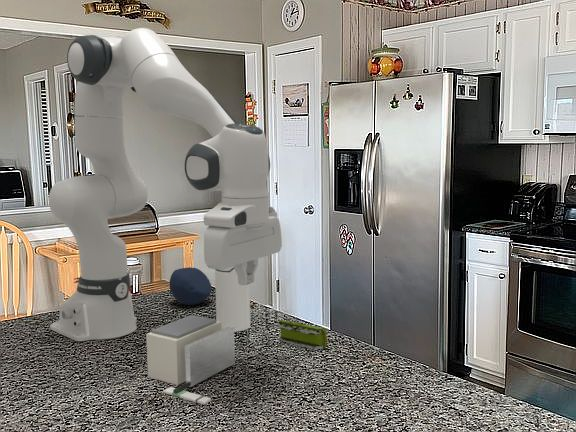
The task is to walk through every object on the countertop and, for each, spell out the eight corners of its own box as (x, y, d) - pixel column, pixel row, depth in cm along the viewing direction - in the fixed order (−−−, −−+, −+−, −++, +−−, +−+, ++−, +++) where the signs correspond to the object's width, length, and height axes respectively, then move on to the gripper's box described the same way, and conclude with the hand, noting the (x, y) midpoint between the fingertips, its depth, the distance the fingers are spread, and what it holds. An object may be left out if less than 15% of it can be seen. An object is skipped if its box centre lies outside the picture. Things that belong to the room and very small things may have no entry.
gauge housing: (133, 383, 121) (131, 336, 120) (193, 355, 136) (192, 313, 135) (204, 404, 112) (202, 353, 110) (260, 371, 127) (259, 326, 125)
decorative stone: (163, 309, 172) (162, 274, 171) (178, 297, 184) (177, 265, 182) (204, 310, 170) (203, 275, 169) (216, 299, 182) (215, 266, 181)
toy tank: (315, 332, 135) (337, 312, 142) (247, 319, 145) (272, 300, 153) (319, 360, 137) (341, 339, 144) (252, 345, 148) (276, 326, 155)
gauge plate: (133, 382, 121) (131, 343, 120) (194, 353, 136) (193, 318, 135) (175, 394, 115) (174, 353, 114) (234, 363, 130) (234, 327, 129)
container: (257, 324, 158) (255, 208, 154) (236, 333, 151) (234, 212, 147) (230, 319, 162) (227, 206, 158) (209, 328, 155) (206, 210, 151)
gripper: (263, 204, 125) (263, 270, 127) (197, 216, 108) (198, 293, 110) (289, 206, 122) (289, 274, 124) (225, 219, 105) (226, 298, 107)
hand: (246, 283), depth 117 cm, fingers closed
